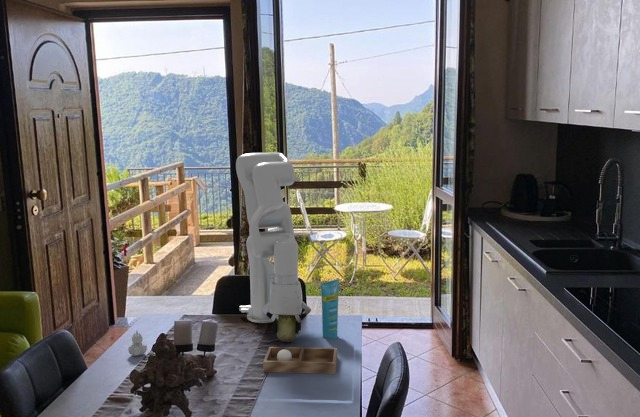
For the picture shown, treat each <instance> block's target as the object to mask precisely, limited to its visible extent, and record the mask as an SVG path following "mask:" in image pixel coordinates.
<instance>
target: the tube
mask: <svg viewBox="0 0 640 417" xmlns="http://www.w3.org/2000/svg"><path fill="white" fill-rule="evenodd" d="M339 287H340V278H337V279H333V280H331V281H326V282H321V284H320V290H321V315H322V317H321V320H322V321H321V322H322V325H321V326H322V338H323V339H331V340H333V339H334V340H335V339H337V338H338V329H339V328H338V325H339V322H338V317H339V290H340V288H339Z"/></svg>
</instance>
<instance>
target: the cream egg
mask: <svg viewBox="0 0 640 417" xmlns="http://www.w3.org/2000/svg"><path fill="white" fill-rule="evenodd" d="M277 360H278V361H291V360H292V354H291V352H290V351H289V350H287V349H282V350H280V351H279V352H278V354H277Z"/></svg>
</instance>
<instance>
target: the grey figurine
mask: <svg viewBox="0 0 640 417" xmlns="http://www.w3.org/2000/svg"><path fill="white" fill-rule="evenodd" d="M131 341H132V343H131V344H130V345H129V346H128V353H129V354H130V355H131V356H135V357H136V356H137V357H139V356H142V355H144V354H145V353H146V352H147V350H148V345H147V344H146V342H144V341H143V335H142V334H141V332H139V331H138V330H136V332H134V333H133V335H132V337H131Z"/></svg>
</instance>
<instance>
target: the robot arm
mask: <svg viewBox="0 0 640 417" xmlns="http://www.w3.org/2000/svg"><path fill="white" fill-rule="evenodd" d="M235 170H236V175H237V179H238V181H239V183H240V186H241V187H242V190H243V194H244V200H245V201H244V202H245V209H246V211H245V212H246V217H247V223H248V225H249V228H248V230H249V231H248V232H249V233H248V234H249V235H248V237H247V238H246V242H245V243H246V244H245V245H246V251H247V256H248V263H249V264H248V265H249V280H250V281H249V282H250V288H249V289H250V304H248V305H239V308H238V309H239V312H241V313H243V314H244V313H246V314H247V315H246V319H247V320H248V321H249V322H251V323H256V324H257V323H258V324H269V323H271V330H273V334H277V324H278V315H286V316H287V315H295V317H296V335H299V331H300V332H301V330H302V321H303V320H304V319H305V318H306V317H307V316H308V315H309V314H310V313H311V311H312V309H311V307H310V306H308V304H307V303H305V302H304V301H303V291H302V286H301V282H300V280H299V247H298V246H299V244H298V242H297V241H296V238H295V231H294V224H293V216H292V211H291V208H290V206H289V204H288V203H287V202H285V201H284V198H283V193H282V189H281V187H286V186H287V187H288V186H292V185H294V183H295V180H296V173H295V169H294V166H293V164H292V162H291V161H290V160H289V159H288V158H287V157H286V156H285V155H284V154H283V153H282V152H276V151H275V152H249V153H244V154H241V155H239V156H238V157H237V158H236V161H235ZM275 228H277V229H278V230H274V231H272V230H271V231H269V230H268V231H260V229H263V230H265V229H275ZM270 259H273V263H272V262H271V261H270ZM302 310H304V311H302Z"/></svg>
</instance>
